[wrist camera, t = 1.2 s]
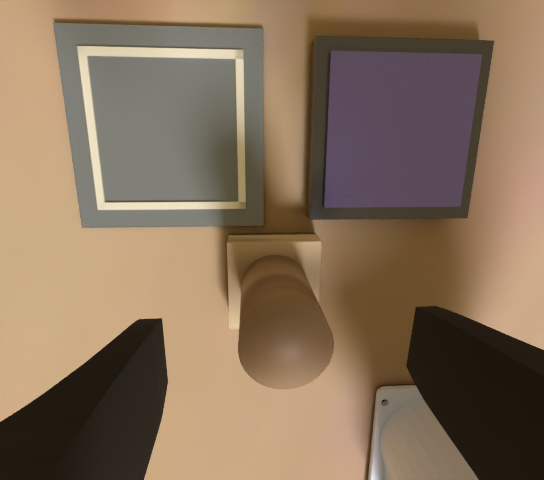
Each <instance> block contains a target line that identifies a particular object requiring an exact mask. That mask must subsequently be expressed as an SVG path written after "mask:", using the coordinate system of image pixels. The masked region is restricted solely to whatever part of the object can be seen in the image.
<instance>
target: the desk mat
mask: <svg viewBox="0 0 544 480" xmlns="http://www.w3.org/2000/svg"><path fill="white" fill-rule="evenodd" d="M53 24H54V32H55V39H56V46H57V53H58V60H59V67H60V74H61V82H62V89H63V96H64V103H65V110H66V117H67V124H68V131H69V139H70V146H71V153H72V160H73V167H74V174H75V181H76V188H77V196H78V203H79V210H80V217H81V224H82V228H115V227H206V226H264V135H263V29H261V28H226V27H190V26H154V25H119V24H83V23H53Z"/></svg>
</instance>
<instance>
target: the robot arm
mask: <svg viewBox="0 0 544 480" xmlns="http://www.w3.org/2000/svg"><path fill="white" fill-rule="evenodd" d="M407 368H408V370H409V373H410V375H411V377H412V379H413V381H414V383H415V385H403V386H384V387H380V388H379V389H378V390H377V393H376V402H375V412H374V423H373V433H372V444H371V454H370V465H369V476H368V480H544V350H542V349H540V348H537V347H535V346H532V345H530V344H527V343H525V342H523V341H520V340H518V339H515V338H513V337H511V336H508V335H506V334H504V333H501V332H499V331H497V330H495V329H492V328H490V327H488V326H485V325H483V324H481V323H478V322H476V321H474V320H471V319H469V318H467V317H464V316H462V315H459V314H457V313H454V312H452V311H449V310H446V309H443V308H440V307H437V306H429V307H416V310H415V316H414V323H413V329H412V335H411V341H410V347H409V354H408V360H407ZM167 384H168V378H167V368H166V357H165V346H164V336H163V325H162V318H159V319H138V320H137V321H136V322H134V323H133V324H132V325H130V326H129V327H128V328H127V329H126V330H124V331H123V332H122V333H121V334H120V335H118V336H117V337H116V338H115V339H114V340H112V341H111V342H110V343H109V344H108V345H106V346H105V347H104V348H103V349H102V350H100V351H99V352H98V353H97V354H95V355H94V356H93V357H92V358H90V359H89V360H88V361H87V362H86V363H84V364H83V365H82V366H80V367H79V368H78V369H76V370H75V371H74V372H72V373H71V374H70V375H68V376H67V377H66V378H64V379H63V380H62V381H60V382H59V383H58V384H56V385H55V386H53V387H52V388H51V389H49V390H48V391H47V392H45V393H44V394H42V395H41V396H40V397H38V398H37V399H35V400H34V401H32V402H31V403H29V404H28V405H26V406H25V407H23V408H22V409H20V410H19V411H17V412H15V413H14V414H12V415H11V416H9V417H8V418H6V419H4V420H3V421H1V422H0V480H144V477H145V474H146V470H147V467H148V464H149V460H150V457H151V454H152V450H153V447H154V443H155V440H156V436H157V433H158V430H159V426H160V422H161V419H162V414H163V408H164V402H165V396H166V390H167ZM385 399H386V400H385ZM383 400H385V401H384V402H382V401H383Z"/></svg>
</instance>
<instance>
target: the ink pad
mask: <svg viewBox="0 0 544 480" xmlns="http://www.w3.org/2000/svg"><path fill="white" fill-rule="evenodd" d="M493 44H494V41H486V40H448V39H411V38H374V37H337V36H316V37H315V38H314V40H313V42H312V62H311V95H310V128H309V162H308V195H307V217H308V218H309V219H310V220H314V219H416V218H467V217H468V210H469V204H470V197H471V190H472V184H473V177H474V170H475V164H476V157H477V151H478V144H479V137H480V131H481V124H482V117H483V111H484V104H485V97H486V91H487V84H488V78H489V71H490V64H491V58H492V51H493Z"/></svg>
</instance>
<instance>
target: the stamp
mask: <svg viewBox="0 0 544 480" xmlns="http://www.w3.org/2000/svg"><path fill="white" fill-rule="evenodd" d="M321 246H322V241H321V240H320V239H319V237H318V236H317V235H316V234H315V233H254V234H229V235H228V240H227V265H228V297H229V329H239V343H238V353H239V358H240V362H241V364H242V366H243V368H244V370H245V371H246V372H247V374H248V375H249V376H250V377H251V378H252V379H254V380H255V381H256V382H258V383H260V384H262V385H264V386H267V387H270V388H274V389H293V388H297V387H300V386H303V385H306V384H308V383H310V382H311V381H313V380H314V379H316V378H317V377H318V376H319V375H320V374H321V373H322V372H323V371H324V370H325V369H326V367H327V366H328V364H329V362H330V360H331V358H332V354H333V349H334V340H333V335H332V332H331V329H330V327H329V325H328V322H327V320H326V318H325V316H324V314H323V312H322V309H321V307H320V305H319V294H320V270H321Z"/></svg>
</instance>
